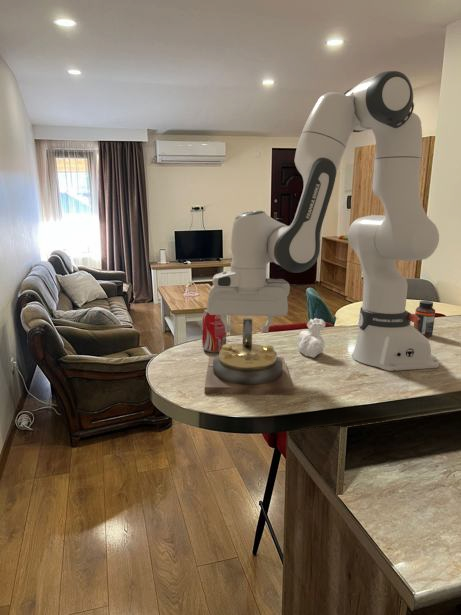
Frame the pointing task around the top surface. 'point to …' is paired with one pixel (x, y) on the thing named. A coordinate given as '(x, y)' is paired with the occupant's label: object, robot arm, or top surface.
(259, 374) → the cap housing
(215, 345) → the soda can
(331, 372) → the top surface
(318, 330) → the white tied sack
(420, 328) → the supplement bottle
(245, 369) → the gold dial with handle
